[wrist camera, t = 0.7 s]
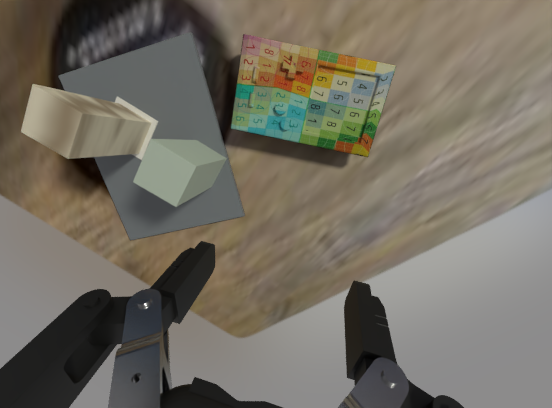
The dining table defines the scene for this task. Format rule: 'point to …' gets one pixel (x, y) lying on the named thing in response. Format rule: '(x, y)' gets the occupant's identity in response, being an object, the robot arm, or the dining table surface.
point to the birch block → (82, 124)
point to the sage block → (178, 169)
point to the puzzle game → (309, 95)
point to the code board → (160, 132)
